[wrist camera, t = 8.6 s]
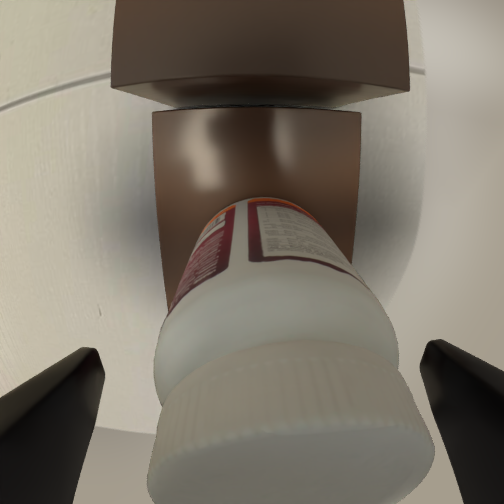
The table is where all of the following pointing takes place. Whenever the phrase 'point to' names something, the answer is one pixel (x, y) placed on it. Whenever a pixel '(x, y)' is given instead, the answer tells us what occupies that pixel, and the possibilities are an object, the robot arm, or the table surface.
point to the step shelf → (256, 93)
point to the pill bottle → (280, 374)
